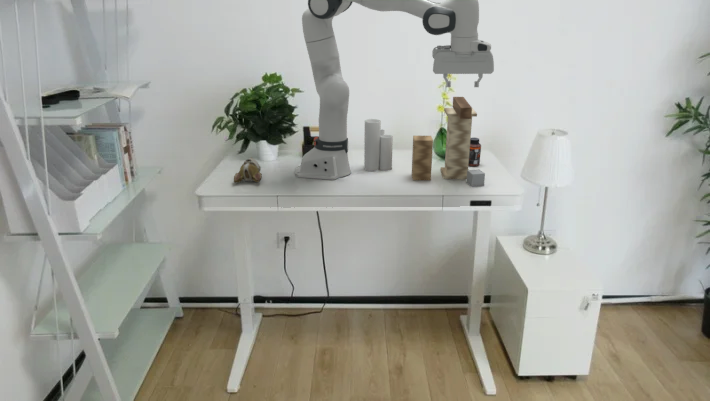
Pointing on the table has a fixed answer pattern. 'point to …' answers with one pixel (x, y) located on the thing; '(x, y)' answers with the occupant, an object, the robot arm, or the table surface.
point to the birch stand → (457, 145)
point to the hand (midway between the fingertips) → (462, 86)
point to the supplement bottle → (474, 152)
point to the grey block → (475, 178)
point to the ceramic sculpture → (249, 171)
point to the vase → (377, 147)
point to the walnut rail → (462, 107)
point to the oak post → (422, 157)
